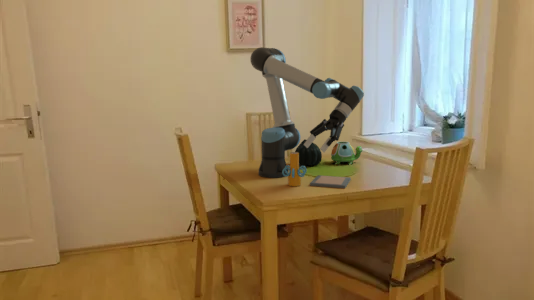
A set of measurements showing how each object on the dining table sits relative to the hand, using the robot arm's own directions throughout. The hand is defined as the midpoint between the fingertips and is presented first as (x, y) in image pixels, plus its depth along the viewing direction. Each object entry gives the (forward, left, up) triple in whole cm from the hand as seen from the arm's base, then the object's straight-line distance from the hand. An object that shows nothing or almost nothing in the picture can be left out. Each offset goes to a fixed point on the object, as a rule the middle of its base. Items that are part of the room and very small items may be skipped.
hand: (313, 148), depth 196 cm
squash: (-12, +38, -17) cm, 43 cm away
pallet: (+8, +2, -16) cm, 18 cm away
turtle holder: (+7, +50, -17) cm, 53 cm away
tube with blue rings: (-7, -7, -16) cm, 19 cm away
